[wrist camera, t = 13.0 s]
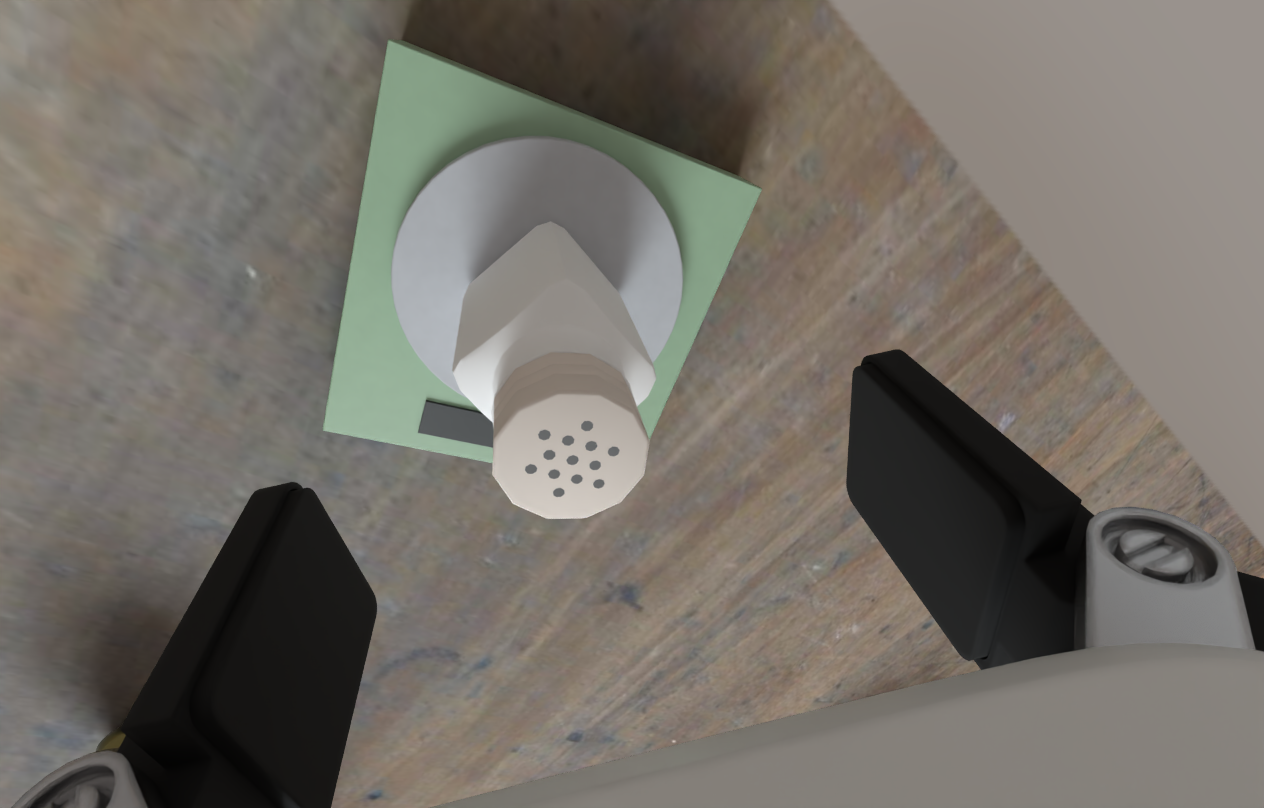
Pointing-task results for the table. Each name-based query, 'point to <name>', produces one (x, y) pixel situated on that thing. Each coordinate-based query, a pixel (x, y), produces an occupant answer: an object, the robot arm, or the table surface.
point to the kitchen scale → (509, 240)
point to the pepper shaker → (555, 377)
